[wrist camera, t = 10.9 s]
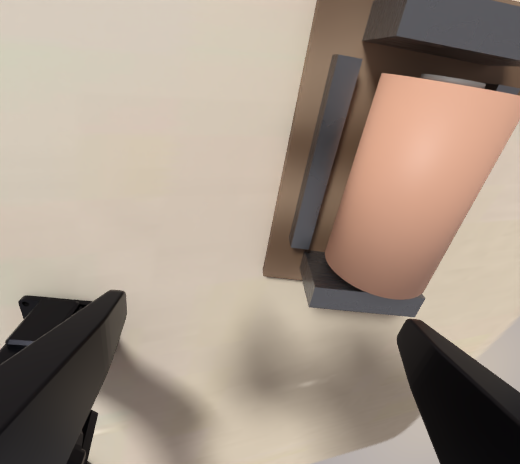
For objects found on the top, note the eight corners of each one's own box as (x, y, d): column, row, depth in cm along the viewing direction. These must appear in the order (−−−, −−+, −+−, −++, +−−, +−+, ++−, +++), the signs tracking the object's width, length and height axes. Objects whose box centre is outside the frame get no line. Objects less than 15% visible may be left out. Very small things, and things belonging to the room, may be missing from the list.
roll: (395, 246, 21) (445, 307, 16) (314, 237, 21) (339, 298, 15) (468, 84, 16) (576, 97, 11) (364, 65, 15) (427, 69, 10)
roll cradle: (409, 285, 24) (442, 332, 20) (262, 269, 23) (265, 316, 19) (550, 14, 15) (663, -3, 11) (324, -36, 14) (355, -76, 10)
